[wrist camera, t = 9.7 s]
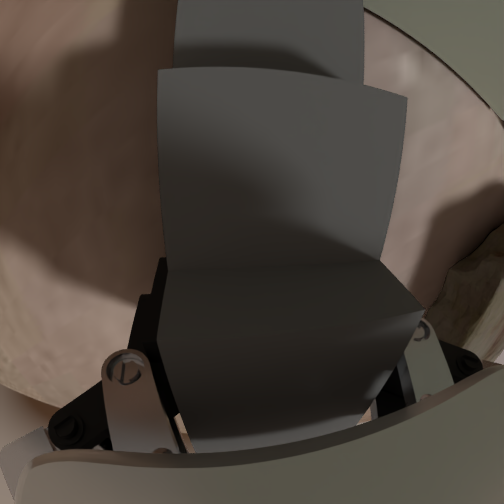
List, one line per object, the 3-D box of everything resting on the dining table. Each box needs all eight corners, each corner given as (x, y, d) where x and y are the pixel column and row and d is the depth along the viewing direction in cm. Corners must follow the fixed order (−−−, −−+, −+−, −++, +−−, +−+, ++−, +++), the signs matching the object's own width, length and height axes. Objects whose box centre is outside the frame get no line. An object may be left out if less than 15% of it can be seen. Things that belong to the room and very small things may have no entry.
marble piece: (472, 348, 22) (489, 373, 19) (378, 380, 20) (397, 419, 16) (541, 217, 14) (570, 239, 10) (473, 189, 11) (526, 224, 8)
